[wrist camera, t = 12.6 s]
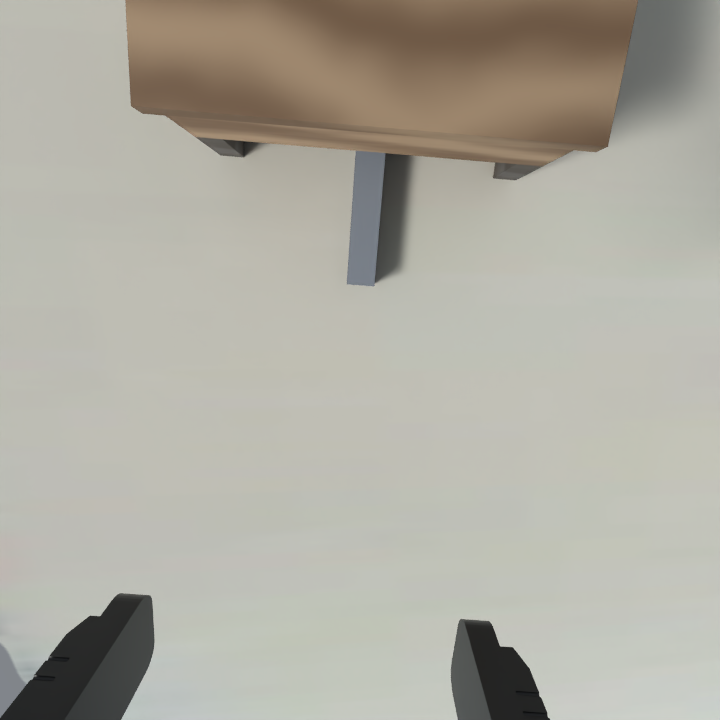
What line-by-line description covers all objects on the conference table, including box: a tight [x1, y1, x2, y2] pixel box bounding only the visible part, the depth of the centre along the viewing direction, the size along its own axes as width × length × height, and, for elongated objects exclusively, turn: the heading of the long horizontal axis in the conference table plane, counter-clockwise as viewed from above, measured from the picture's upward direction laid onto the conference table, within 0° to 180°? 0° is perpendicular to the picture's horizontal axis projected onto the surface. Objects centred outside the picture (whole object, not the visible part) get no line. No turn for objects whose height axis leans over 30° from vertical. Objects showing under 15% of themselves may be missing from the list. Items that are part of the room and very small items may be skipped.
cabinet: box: [126, 0, 638, 180], centre depth 28 cm, size 11×27×13 cm, turn 85°
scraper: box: [347, 151, 385, 286], centre depth 34 cm, size 23×10×3 cm, turn 176°
